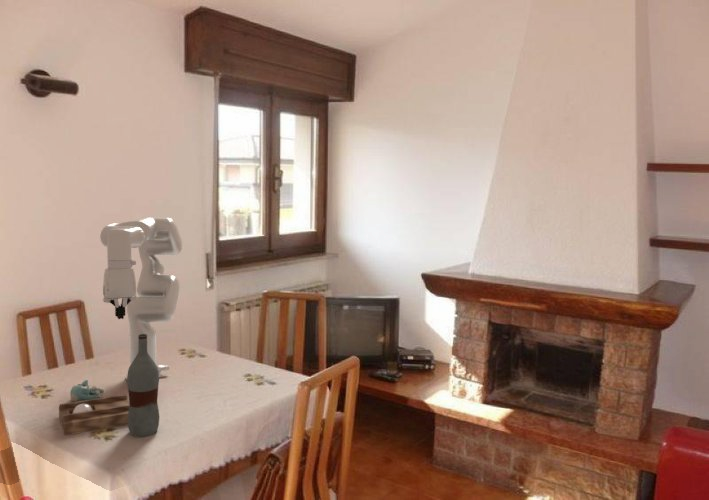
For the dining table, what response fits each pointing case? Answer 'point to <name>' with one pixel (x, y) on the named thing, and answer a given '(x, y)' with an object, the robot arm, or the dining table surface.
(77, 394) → the stuffed animal
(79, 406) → the steel ball
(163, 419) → the dining table surface
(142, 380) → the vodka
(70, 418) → the wooden box
